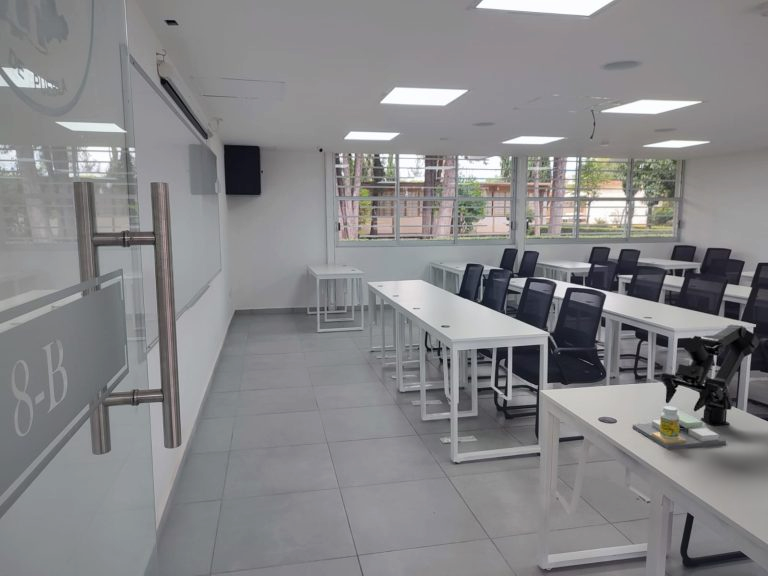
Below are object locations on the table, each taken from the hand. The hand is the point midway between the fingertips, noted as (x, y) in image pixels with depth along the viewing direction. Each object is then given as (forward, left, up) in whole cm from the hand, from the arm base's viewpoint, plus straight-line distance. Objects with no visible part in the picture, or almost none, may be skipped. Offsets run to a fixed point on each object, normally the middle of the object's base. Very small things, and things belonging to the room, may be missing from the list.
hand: (680, 406), depth 175 cm
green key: (-6, -7, -9) cm, 13 cm away
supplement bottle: (+6, +2, -9) cm, 11 cm away
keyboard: (-1, -2, -11) cm, 11 cm away
